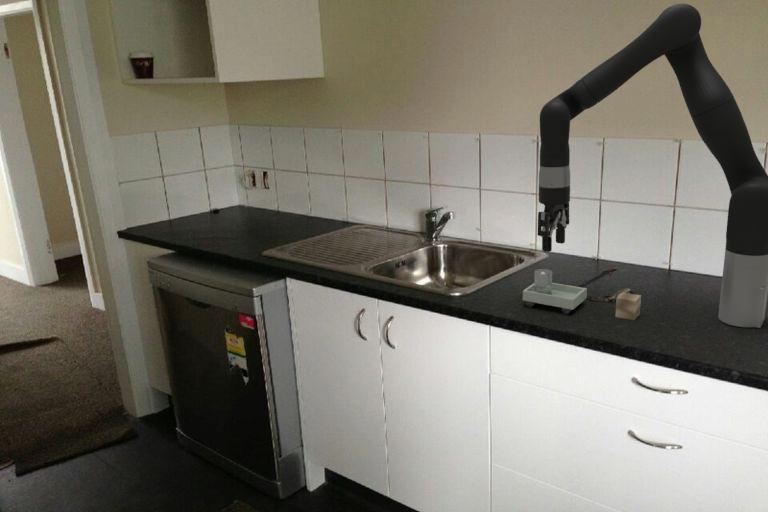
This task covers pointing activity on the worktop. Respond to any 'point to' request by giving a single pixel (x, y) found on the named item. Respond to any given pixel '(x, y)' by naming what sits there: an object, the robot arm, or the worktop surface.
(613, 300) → the fantasy weapon
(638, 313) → the brass block
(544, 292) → the steel cylinder
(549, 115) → the robot arm
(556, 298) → the footed soap dish
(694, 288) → the worktop surface
